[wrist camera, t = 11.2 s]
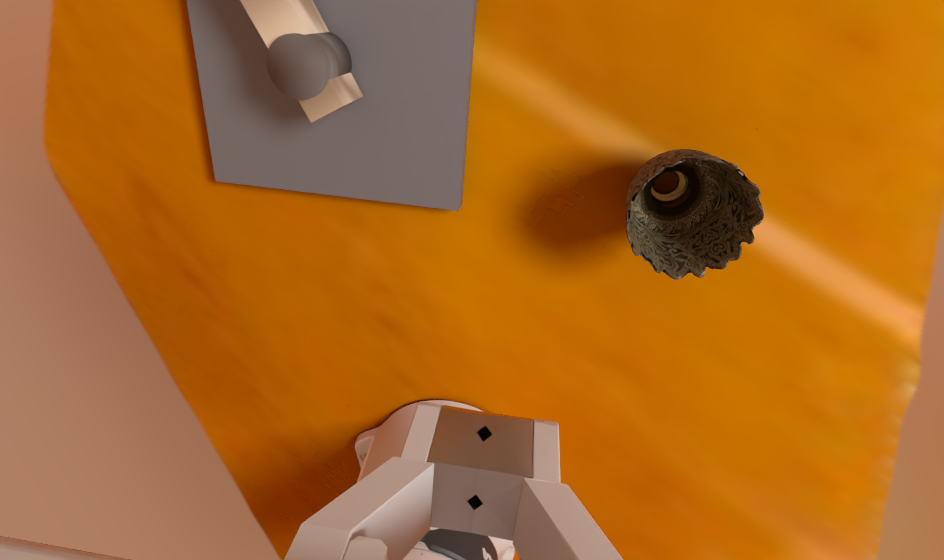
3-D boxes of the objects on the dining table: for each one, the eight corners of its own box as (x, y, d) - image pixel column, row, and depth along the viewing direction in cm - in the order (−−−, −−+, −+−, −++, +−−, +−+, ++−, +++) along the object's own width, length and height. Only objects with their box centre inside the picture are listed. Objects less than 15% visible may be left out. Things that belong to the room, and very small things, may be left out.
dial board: (461, 204, 40) (458, 211, 38) (222, 175, 41) (209, 181, 40) (492, -211, 28) (489, -224, 27) (160, -231, 30) (139, -243, 28)
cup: (590, 183, 38) (600, 223, 31) (673, 105, 34) (706, 130, 27) (658, 249, 39) (682, 301, 32) (743, 180, 36) (791, 222, 29)
